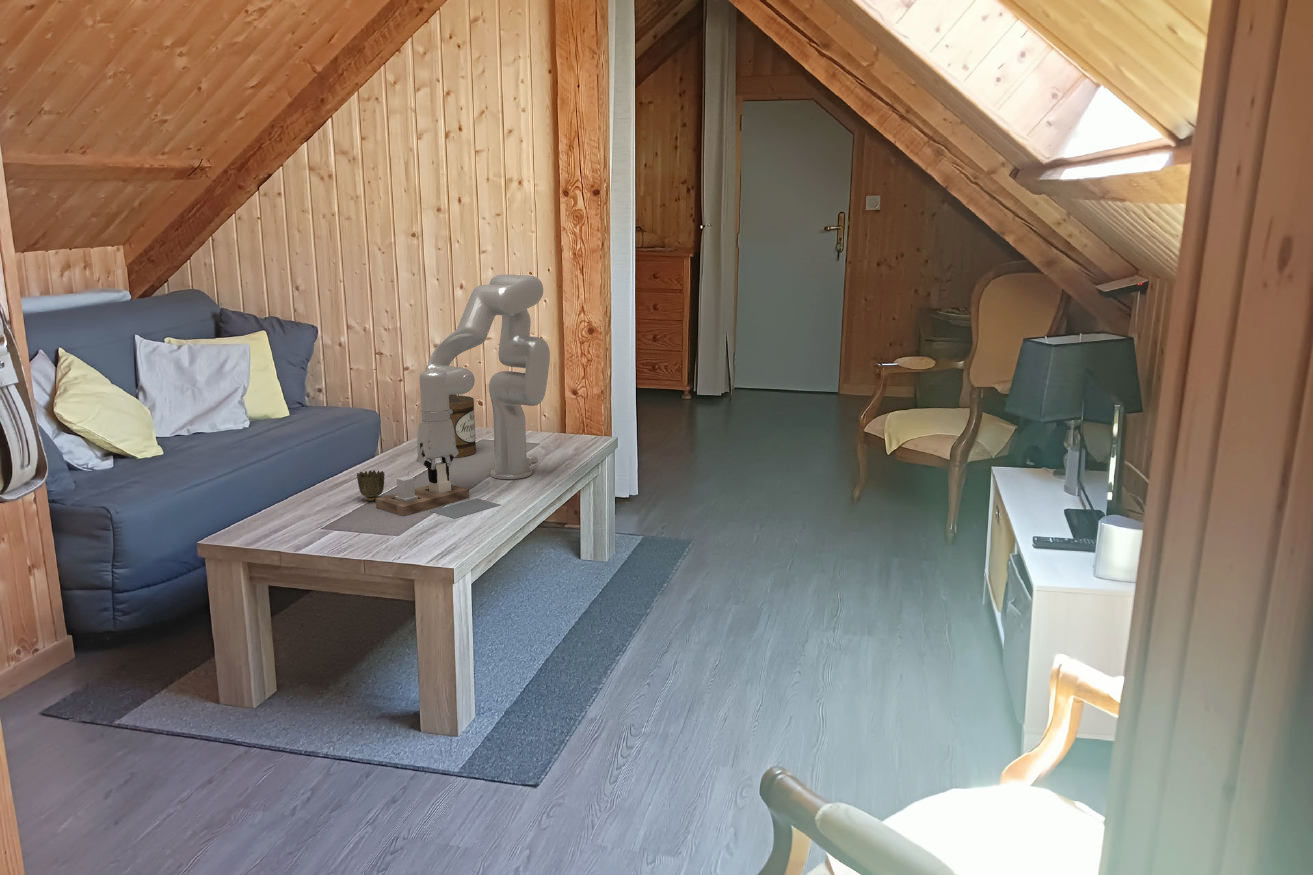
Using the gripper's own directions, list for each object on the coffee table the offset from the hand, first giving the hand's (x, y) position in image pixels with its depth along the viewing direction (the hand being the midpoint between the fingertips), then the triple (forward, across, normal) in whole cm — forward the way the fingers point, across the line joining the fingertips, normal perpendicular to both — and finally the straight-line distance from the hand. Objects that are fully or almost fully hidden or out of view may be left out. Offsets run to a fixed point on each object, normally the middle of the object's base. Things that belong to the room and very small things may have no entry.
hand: (439, 480), depth 274 cm
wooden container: (+6, -36, -43) cm, 57 cm away
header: (+6, +6, 0) cm, 8 cm away
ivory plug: (+3, 0, 0) cm, 3 cm away
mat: (+6, +1, +13) cm, 14 cm away
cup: (+6, +13, -13) cm, 19 cm away
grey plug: (+5, +11, +1) cm, 12 cm away
